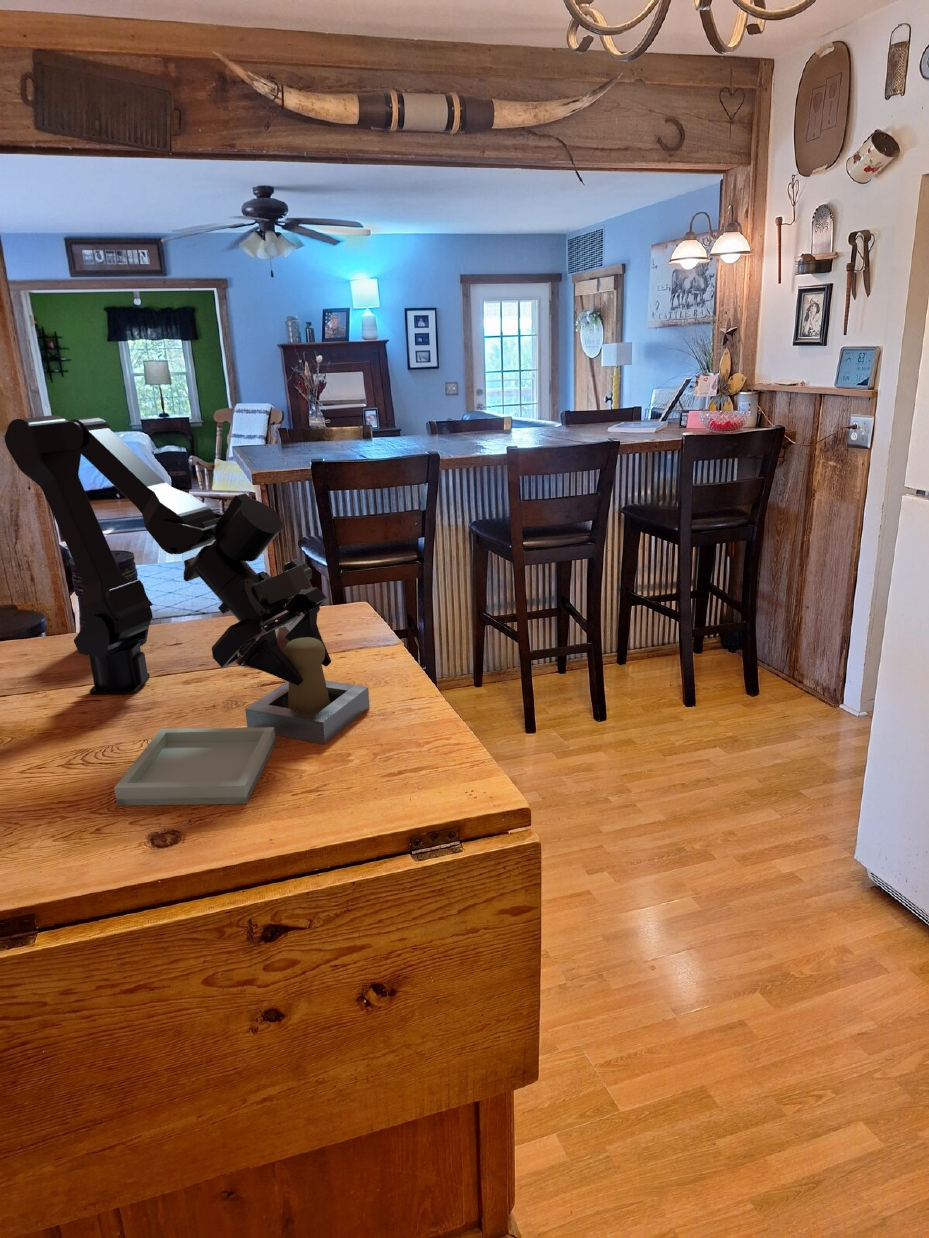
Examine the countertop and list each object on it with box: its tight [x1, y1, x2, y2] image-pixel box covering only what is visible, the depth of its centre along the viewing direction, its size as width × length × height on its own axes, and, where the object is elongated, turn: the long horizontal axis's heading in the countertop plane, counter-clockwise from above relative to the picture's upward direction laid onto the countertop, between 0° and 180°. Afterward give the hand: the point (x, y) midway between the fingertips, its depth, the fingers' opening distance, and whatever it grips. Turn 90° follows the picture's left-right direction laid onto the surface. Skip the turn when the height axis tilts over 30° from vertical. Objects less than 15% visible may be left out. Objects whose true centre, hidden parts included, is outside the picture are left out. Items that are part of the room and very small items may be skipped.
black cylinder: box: [69, 549, 148, 647], centre depth 133 cm, size 10×10×15 cm
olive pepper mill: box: [284, 637, 330, 713], centre depth 105 cm, size 6×6×11 cm
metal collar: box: [244, 679, 370, 745], centre depth 107 cm, size 12×12×3 cm
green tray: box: [113, 727, 277, 807], centre depth 94 cm, size 14×14×2 cm
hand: (315, 673), depth 104 cm, fingers open, 6 cm apart
